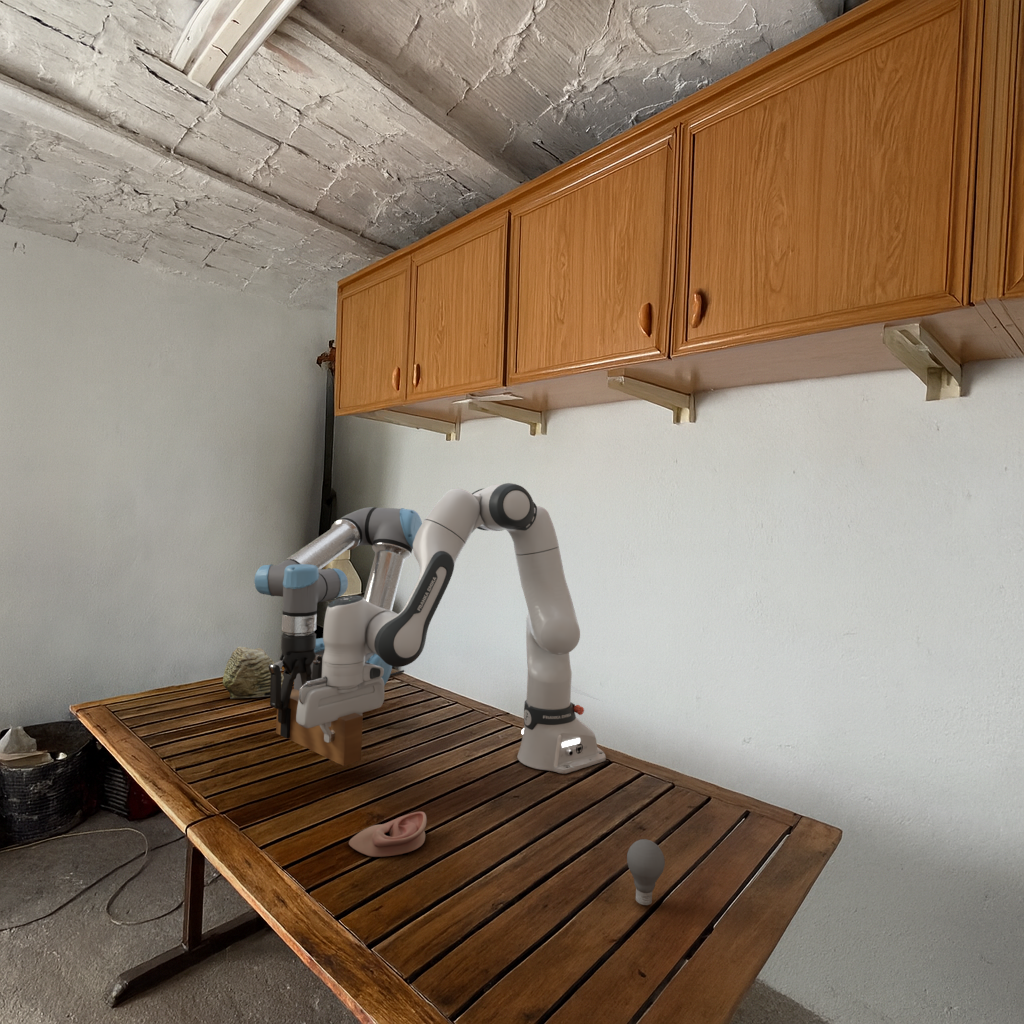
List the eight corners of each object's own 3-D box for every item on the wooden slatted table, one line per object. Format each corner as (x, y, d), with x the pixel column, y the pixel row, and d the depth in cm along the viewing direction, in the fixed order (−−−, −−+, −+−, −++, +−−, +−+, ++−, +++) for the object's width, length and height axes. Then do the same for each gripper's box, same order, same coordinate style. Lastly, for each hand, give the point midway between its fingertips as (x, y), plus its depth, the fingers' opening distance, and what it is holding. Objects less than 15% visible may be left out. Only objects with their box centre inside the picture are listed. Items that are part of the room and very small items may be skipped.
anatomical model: (341, 830, 113) (368, 800, 124) (340, 851, 113) (367, 820, 124) (411, 841, 110) (433, 810, 122) (411, 863, 111) (432, 830, 122)
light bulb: (620, 891, 105) (623, 832, 105) (655, 891, 106) (658, 832, 106) (630, 915, 99) (633, 852, 99) (667, 914, 100) (670, 852, 100)
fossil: (218, 695, 195) (220, 647, 195) (278, 685, 208) (279, 640, 207) (228, 703, 189) (230, 653, 188) (289, 692, 201) (290, 645, 201)
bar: (275, 733, 147) (277, 692, 146) (292, 728, 150) (294, 688, 150) (343, 766, 130) (345, 720, 130) (361, 760, 134) (362, 715, 134)
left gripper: (272, 640, 136) (268, 748, 136) (341, 629, 149) (337, 727, 150) (254, 635, 140) (250, 739, 141) (322, 624, 154) (318, 719, 155)
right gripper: (309, 686, 124) (306, 755, 125) (389, 667, 140) (387, 729, 141) (291, 679, 128) (288, 747, 129) (371, 661, 144) (369, 722, 145)
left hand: (295, 733), depth 145 cm, fingers closed on bar, 4 cm apart
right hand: (340, 737), depth 135 cm, fingers closed on bar, 4 cm apart
